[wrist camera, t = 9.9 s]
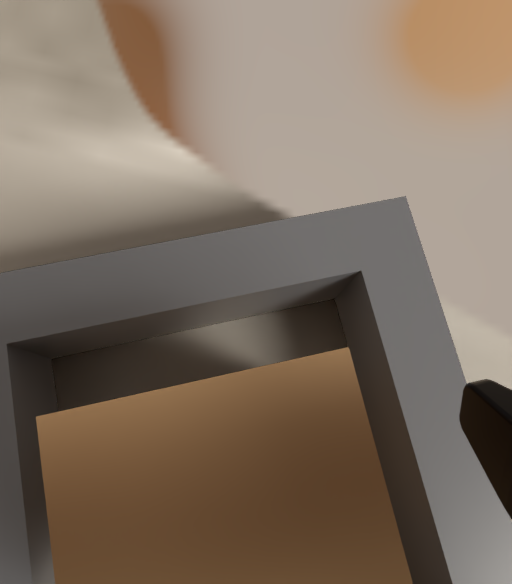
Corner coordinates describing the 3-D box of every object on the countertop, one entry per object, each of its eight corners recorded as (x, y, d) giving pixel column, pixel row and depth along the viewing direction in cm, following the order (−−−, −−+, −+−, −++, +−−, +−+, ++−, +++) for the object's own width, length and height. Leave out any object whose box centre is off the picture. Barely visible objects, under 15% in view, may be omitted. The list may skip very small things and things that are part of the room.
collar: (497, 654, 15) (577, 723, 12) (32, 800, 13) (-33, 933, 10) (371, 237, 18) (405, 196, 15) (-17, 314, 16) (-78, 287, 13)
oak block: (319, 537, 15) (442, 694, 7) (164, 579, 15) (81, 809, 6) (283, 382, 17) (348, 346, 8) (137, 416, 16) (36, 416, 7)
